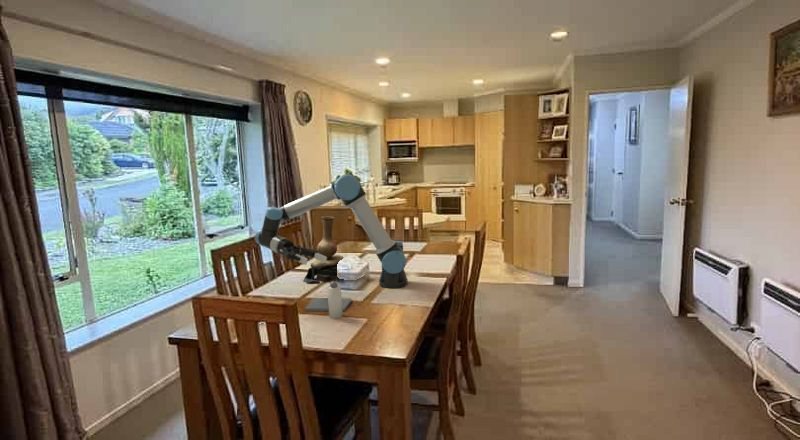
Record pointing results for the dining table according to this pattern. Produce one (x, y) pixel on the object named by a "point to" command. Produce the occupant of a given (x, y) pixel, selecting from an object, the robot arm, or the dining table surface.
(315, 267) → the vase
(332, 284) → the white bottle
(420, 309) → the dining table surface
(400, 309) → the dining table surface
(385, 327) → the dining table surface
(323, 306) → the slate board
